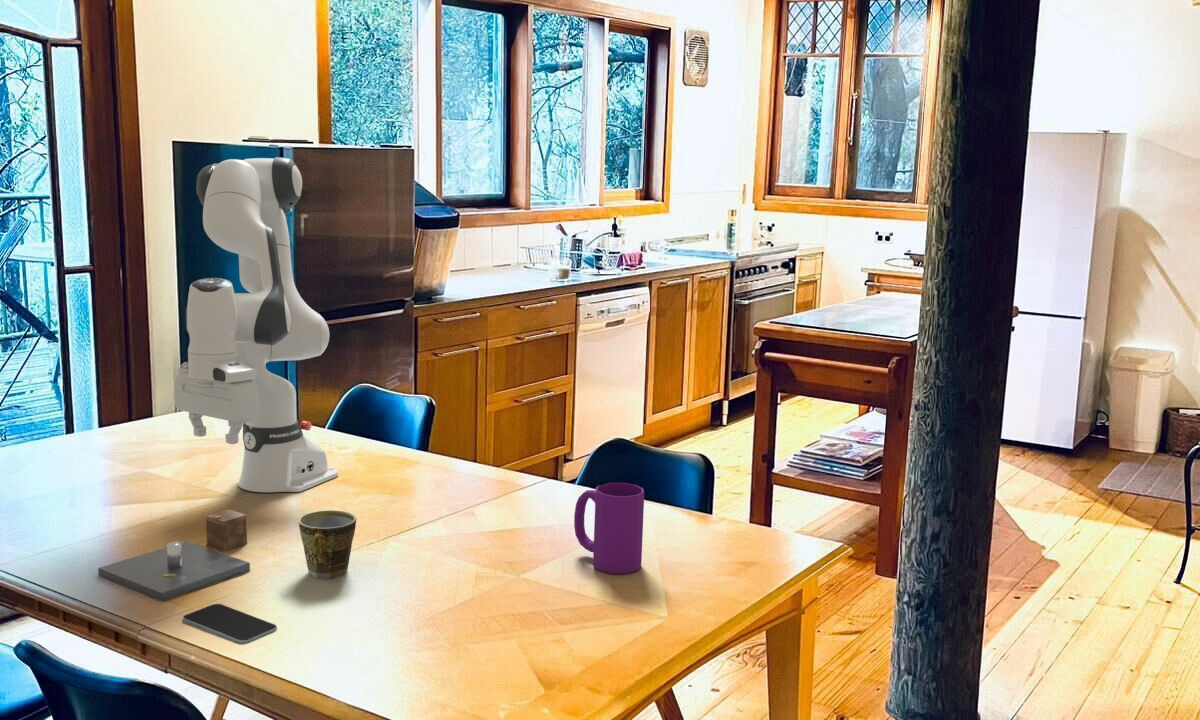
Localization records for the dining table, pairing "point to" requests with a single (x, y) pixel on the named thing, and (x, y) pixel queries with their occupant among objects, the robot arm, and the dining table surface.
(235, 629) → the smartphone
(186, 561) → the plate
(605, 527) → the mug
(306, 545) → the ceramic cup
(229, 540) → the taped cardboard carton
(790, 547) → the dining table surface
